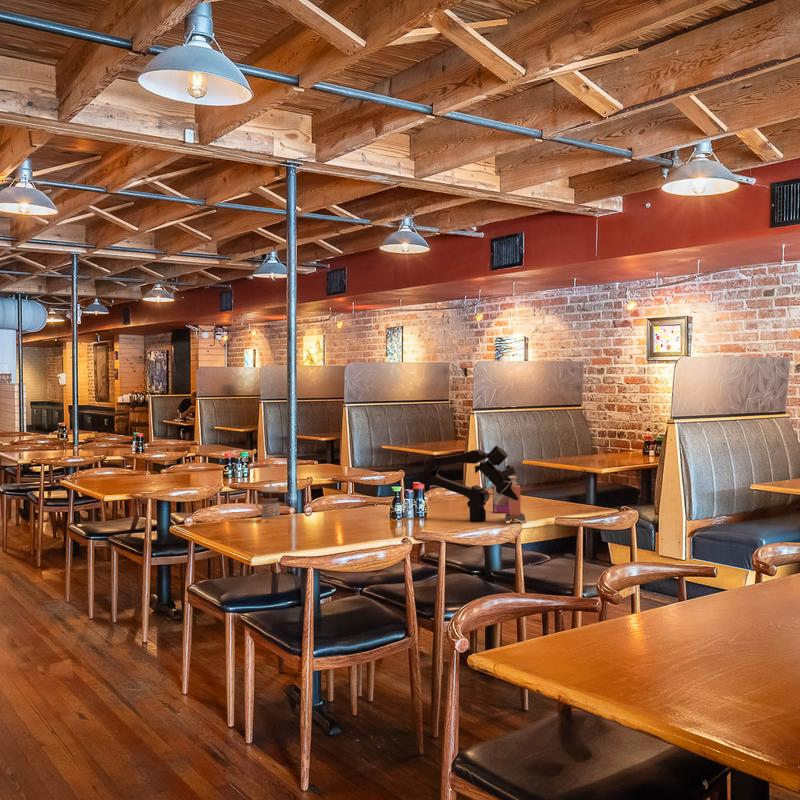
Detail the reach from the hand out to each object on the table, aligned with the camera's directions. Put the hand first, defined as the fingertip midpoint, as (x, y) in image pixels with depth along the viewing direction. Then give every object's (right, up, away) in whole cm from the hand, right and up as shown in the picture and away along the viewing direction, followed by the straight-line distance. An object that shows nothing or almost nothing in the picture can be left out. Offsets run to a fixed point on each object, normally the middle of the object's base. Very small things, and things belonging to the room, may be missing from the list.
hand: (518, 498), depth 354 cm
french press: (-108, -12, +15) cm, 110 cm away
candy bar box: (-2, -10, +28) cm, 30 cm away
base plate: (-1, -10, 0) cm, 10 cm away
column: (-1, -8, 0) cm, 8 cm away
